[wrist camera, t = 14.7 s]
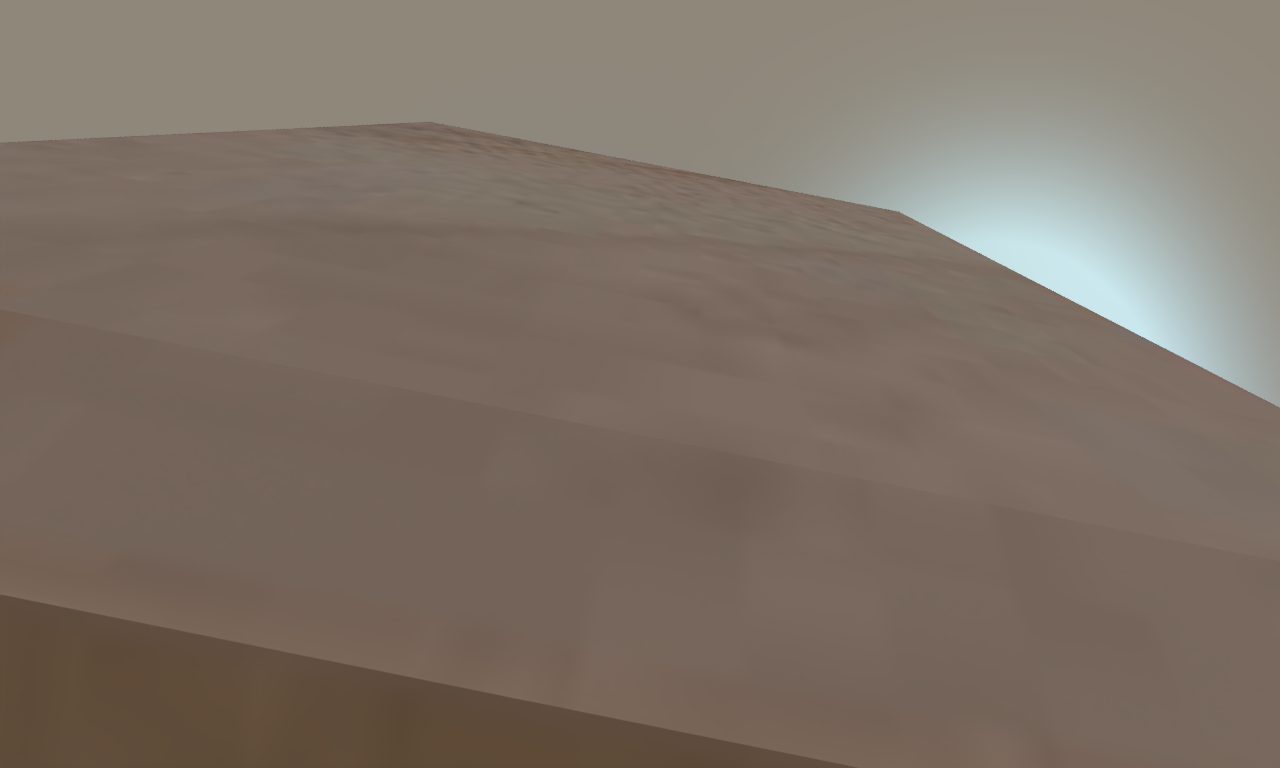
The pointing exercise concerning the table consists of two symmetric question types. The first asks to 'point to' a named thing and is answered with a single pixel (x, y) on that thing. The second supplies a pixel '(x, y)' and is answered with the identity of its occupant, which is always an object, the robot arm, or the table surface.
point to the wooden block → (592, 477)
